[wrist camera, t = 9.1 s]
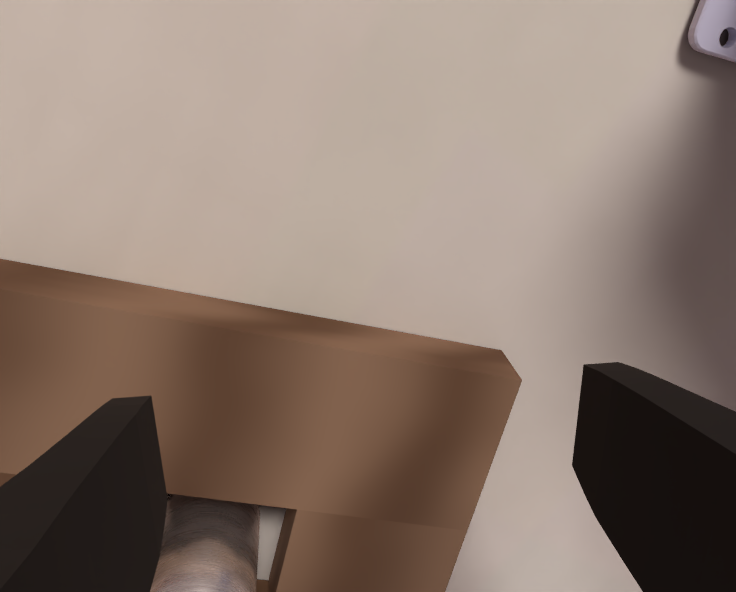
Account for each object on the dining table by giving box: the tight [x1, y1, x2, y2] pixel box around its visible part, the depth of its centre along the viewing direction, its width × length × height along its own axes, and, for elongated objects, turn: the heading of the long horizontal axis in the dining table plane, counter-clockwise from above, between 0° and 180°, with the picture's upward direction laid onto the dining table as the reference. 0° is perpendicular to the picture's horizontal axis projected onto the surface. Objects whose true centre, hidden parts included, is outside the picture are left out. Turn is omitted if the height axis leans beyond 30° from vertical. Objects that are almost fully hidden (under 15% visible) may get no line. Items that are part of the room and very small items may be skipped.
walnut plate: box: [0, 259, 522, 592], centre depth 22 cm, size 16×16×2 cm
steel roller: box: [150, 494, 260, 592], centre depth 20 cm, size 3×3×6 cm
